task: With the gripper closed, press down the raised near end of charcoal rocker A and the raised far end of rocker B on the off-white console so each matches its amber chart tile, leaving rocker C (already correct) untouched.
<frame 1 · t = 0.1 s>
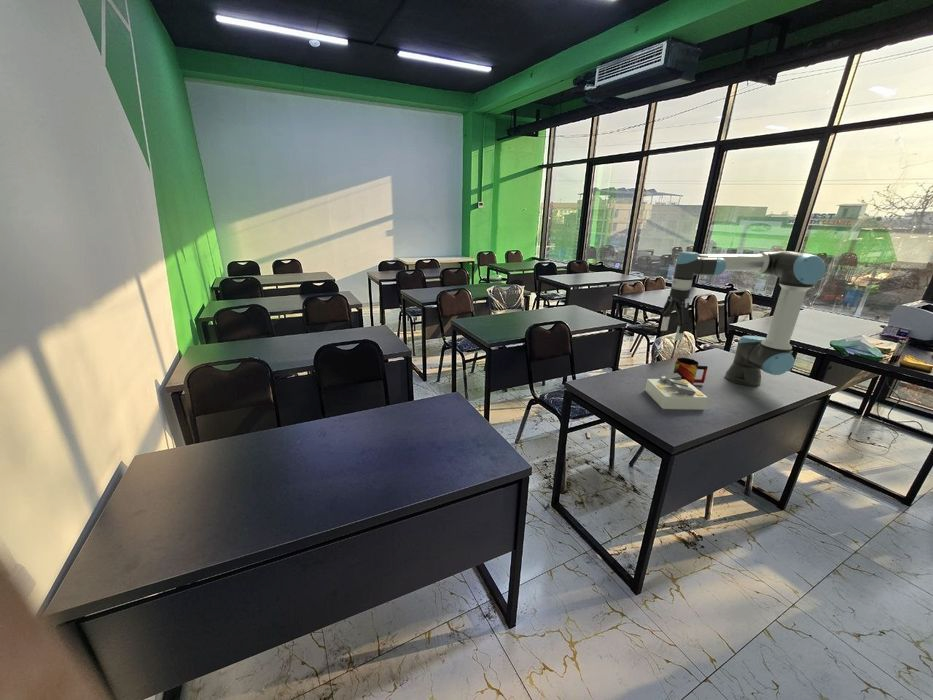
hand: (670, 335, 178), 28 cm above the table, fingers open, 13 cm apart
rocker A: (670, 377, 182), point 8 cm above the table, hinge at 13.0°
rocker C: (684, 389, 171), point 8 cm above the table, hinge at -13.0°
console: (673, 399, 179), on the table
rocker B: (677, 383, 176), point 8 cm above the table, hinge at -13.0°
mug: (685, 383, 196), on the table
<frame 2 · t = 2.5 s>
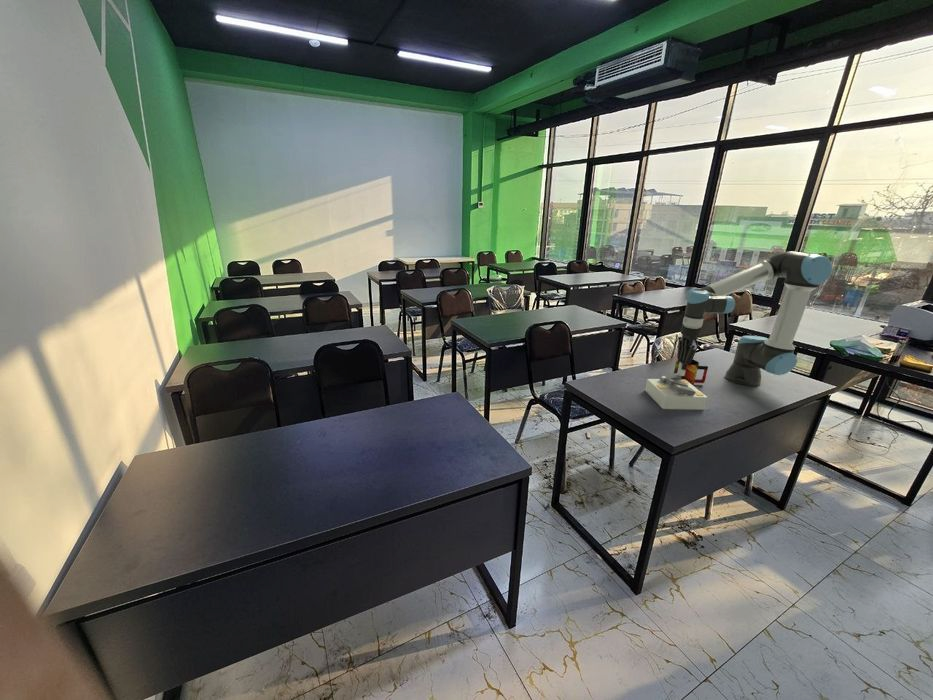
hand: (680, 375, 182), 9 cm above the table, fingers closed
rocker A: (670, 377, 182), point 8 cm above the table, hinge at 11.4°, touching gripper
everything else where it was.
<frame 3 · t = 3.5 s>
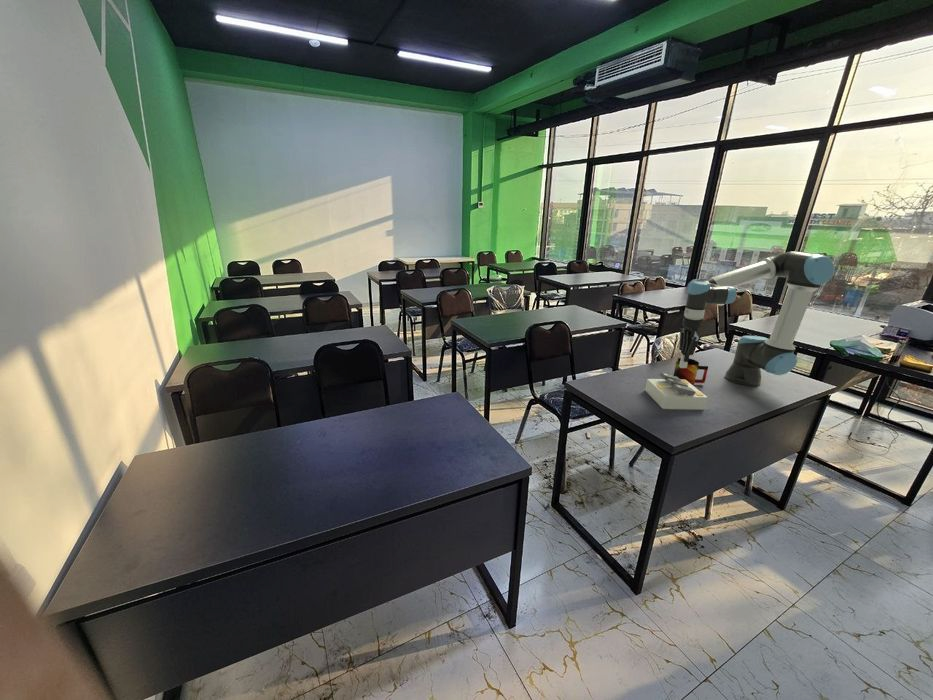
hand: (682, 367, 180), 13 cm above the table, fingers closed
rocker A: (670, 377, 182), point 8 cm above the table, hinge at -15.4°
everything else where it was.
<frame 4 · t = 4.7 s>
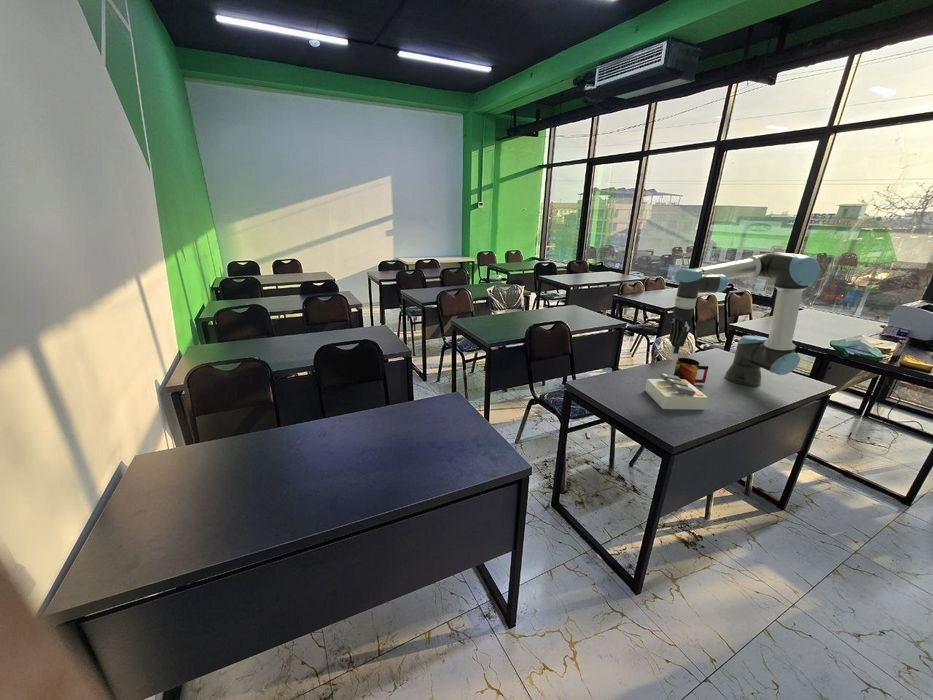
hand: (672, 359, 172), 20 cm above the table, fingers closed
rocker A: (670, 377, 182), point 8 cm above the table, hinge at -10.6°
everything else where it was.
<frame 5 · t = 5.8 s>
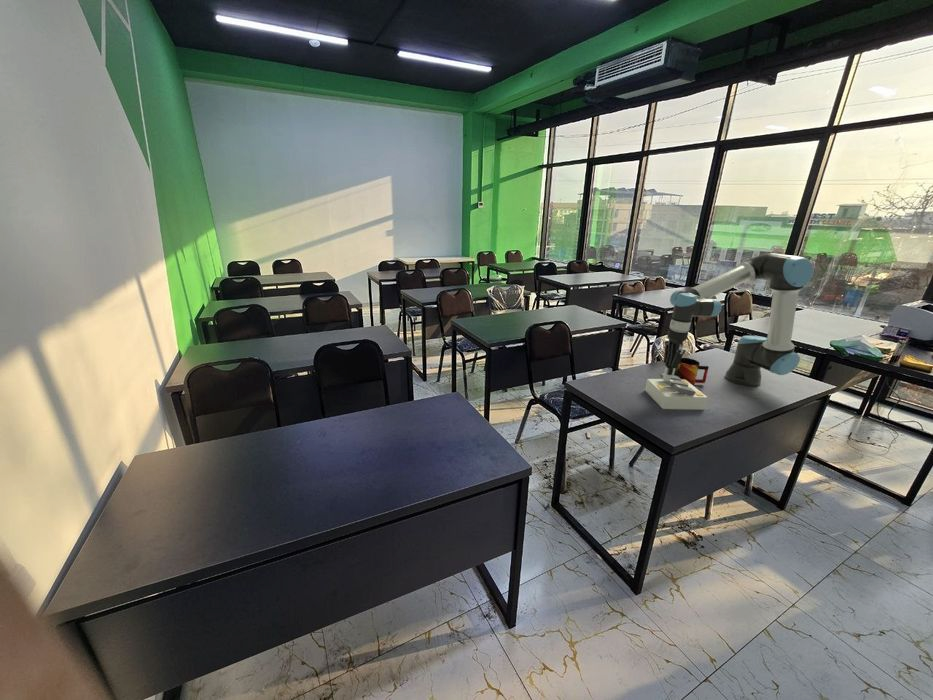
hand: (666, 380, 176), 10 cm above the table, fingers closed
rocker A: (670, 377, 182), point 8 cm above the table, hinge at -9.8°
rocker B: (676, 383, 176), point 8 cm above the table, hinge at -8.6°, touching gripper
everything else where it was.
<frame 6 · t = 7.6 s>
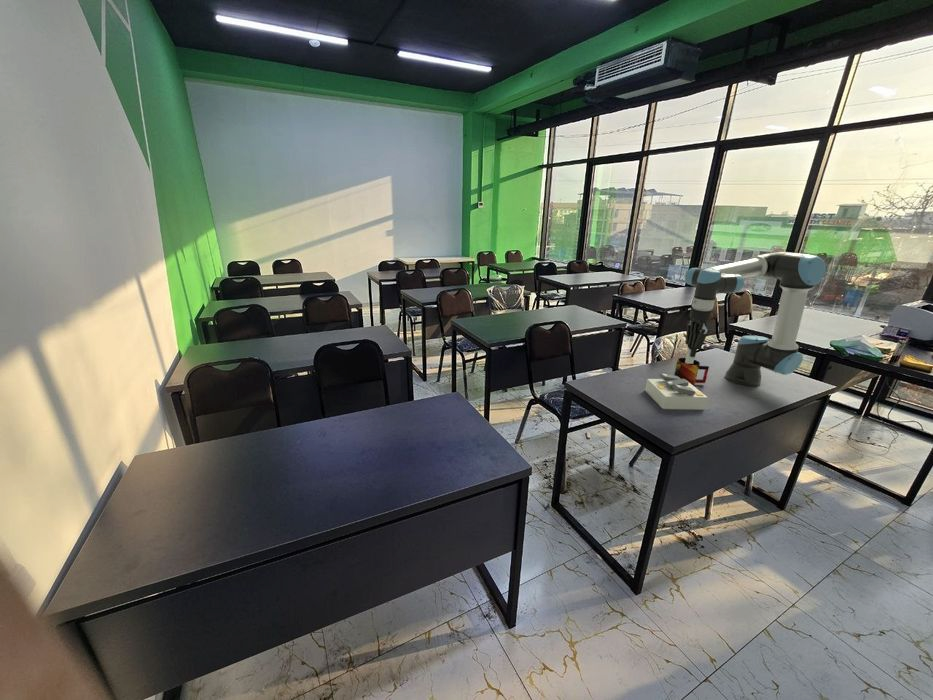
hand: (689, 362, 167), 20 cm above the table, fingers closed
rocker B: (676, 383, 176), point 8 cm above the table, hinge at 10.7°
everything else where it was.
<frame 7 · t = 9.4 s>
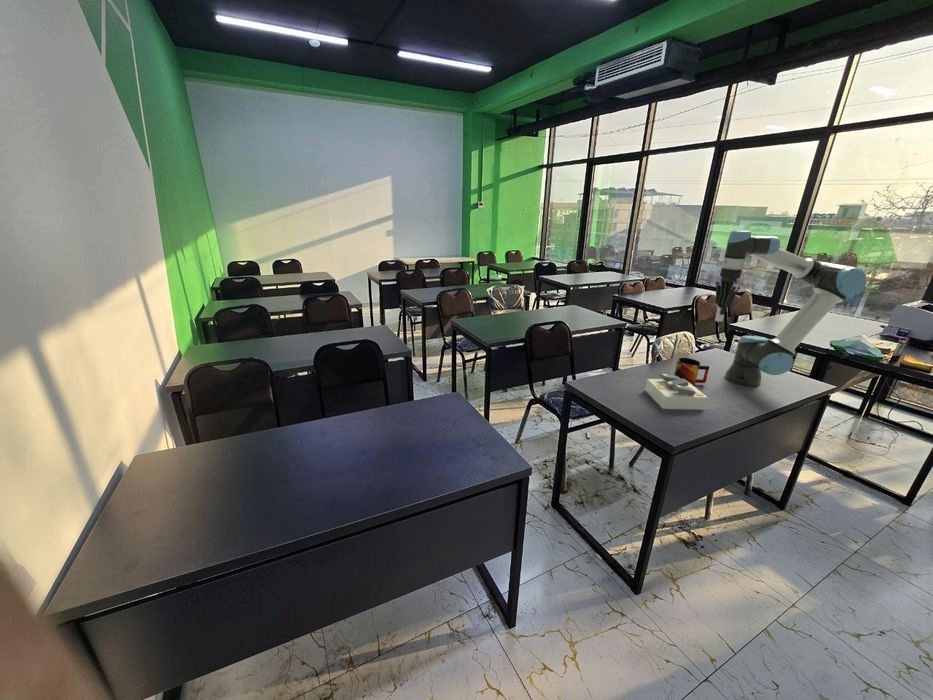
hand: (718, 320, 178), 34 cm above the table, fingers closed
rocker B: (676, 383, 176), point 8 cm above the table, hinge at 11.9°
everything else where it was.
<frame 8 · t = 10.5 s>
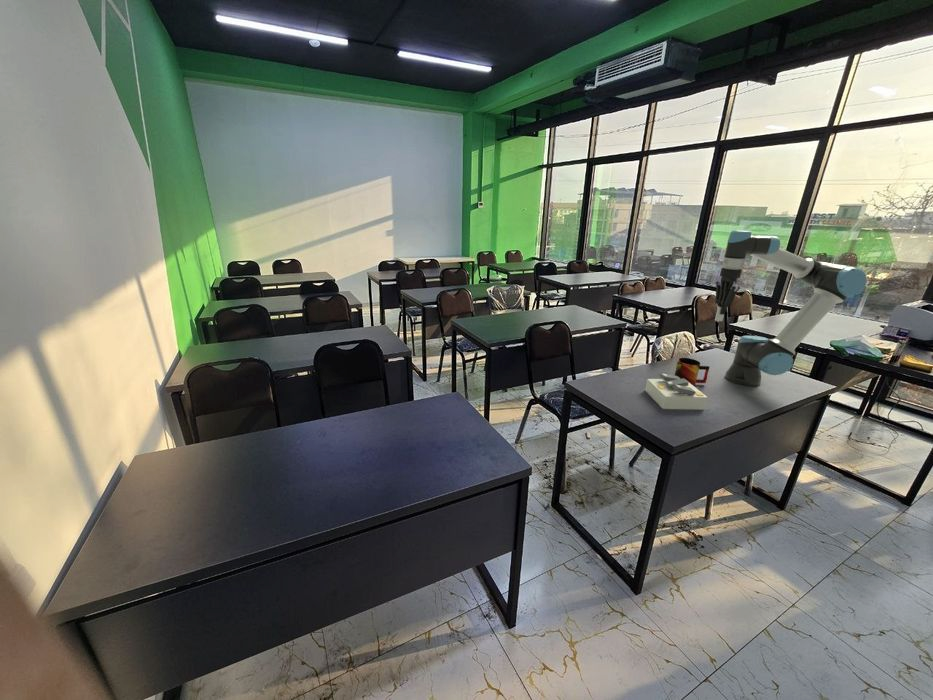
hand: (718, 320, 178), 34 cm above the table, fingers closed
nothing on the table moved.
at the end: rocker A at -10° (first picture: +13°); rocker B at +12° (first picture: -13°); rocker C at -13° (first picture: -13°) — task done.
